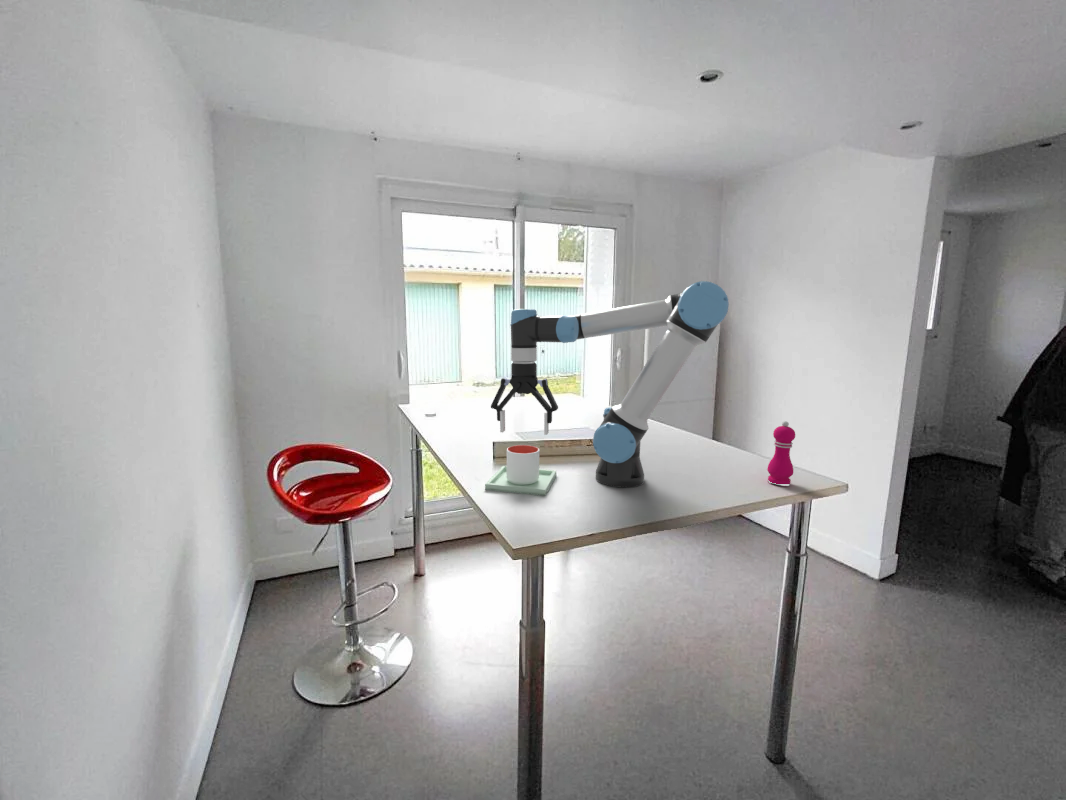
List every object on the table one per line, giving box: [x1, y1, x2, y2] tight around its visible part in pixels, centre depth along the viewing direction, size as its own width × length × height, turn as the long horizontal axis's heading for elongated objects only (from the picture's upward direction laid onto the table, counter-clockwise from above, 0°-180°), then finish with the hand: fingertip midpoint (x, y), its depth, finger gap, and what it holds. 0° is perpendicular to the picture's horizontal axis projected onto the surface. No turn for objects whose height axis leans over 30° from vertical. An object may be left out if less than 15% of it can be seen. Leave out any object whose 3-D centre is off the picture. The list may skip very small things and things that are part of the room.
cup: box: [506, 444, 540, 485], centre depth 142 cm, size 10×10×10 cm
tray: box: [484, 465, 557, 496], centre depth 143 cm, size 18×18×2 cm
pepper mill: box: [766, 420, 796, 485], centre depth 145 cm, size 7×7×20 cm
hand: (524, 432), depth 140 cm, fingers open, 13 cm apart
